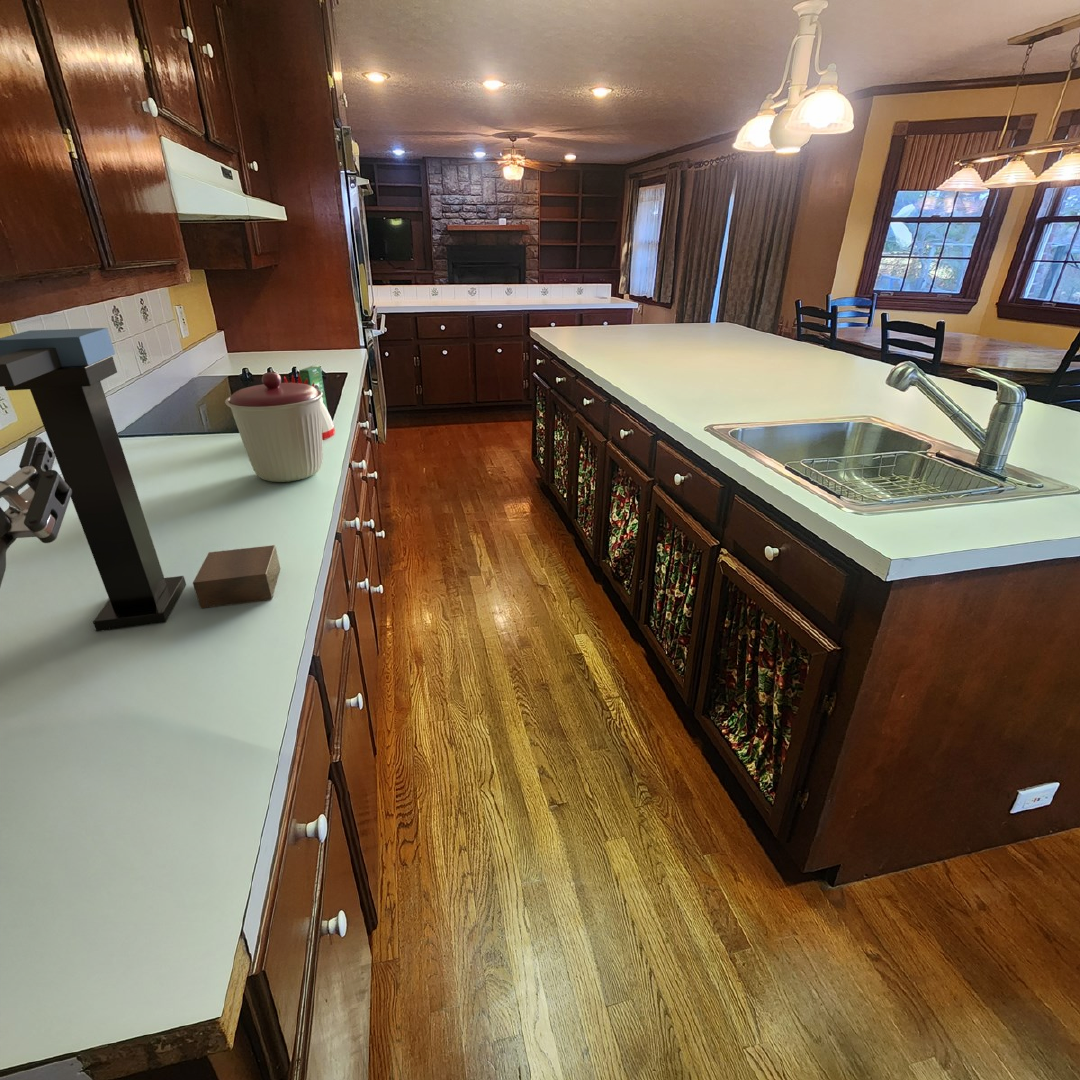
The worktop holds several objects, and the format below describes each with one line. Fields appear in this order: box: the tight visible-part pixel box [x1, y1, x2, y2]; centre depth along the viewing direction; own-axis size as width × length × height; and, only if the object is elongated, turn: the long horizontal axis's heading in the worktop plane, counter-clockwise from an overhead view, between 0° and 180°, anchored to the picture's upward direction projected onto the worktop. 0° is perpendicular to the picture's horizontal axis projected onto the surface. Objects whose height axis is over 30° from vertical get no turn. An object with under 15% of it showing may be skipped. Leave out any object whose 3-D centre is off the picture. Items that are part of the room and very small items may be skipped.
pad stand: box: [4, 355, 187, 632], centre depth 74 cm, size 8×10×32 cm
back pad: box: [0, 327, 116, 388], centre depth 63 cm, size 8×18×3 cm, turn 14°
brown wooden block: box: [192, 544, 281, 609], centre depth 85 cm, size 9×9×4 cm
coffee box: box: [298, 365, 328, 409], centre depth 170 cm, size 8×3×13 cm, turn 173°
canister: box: [224, 371, 324, 483], centre depth 123 cm, size 18×18×21 cm
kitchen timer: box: [283, 374, 336, 441], centre depth 151 cm, size 14×14×15 cm
